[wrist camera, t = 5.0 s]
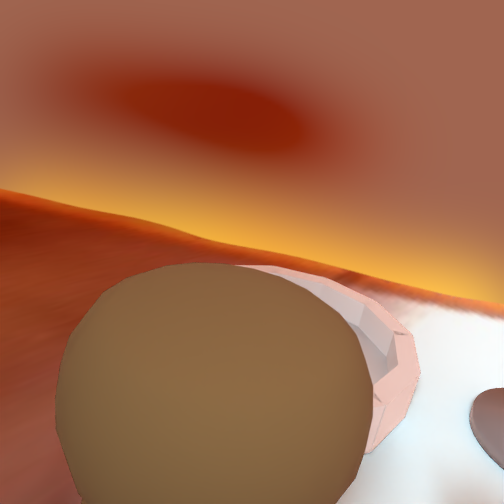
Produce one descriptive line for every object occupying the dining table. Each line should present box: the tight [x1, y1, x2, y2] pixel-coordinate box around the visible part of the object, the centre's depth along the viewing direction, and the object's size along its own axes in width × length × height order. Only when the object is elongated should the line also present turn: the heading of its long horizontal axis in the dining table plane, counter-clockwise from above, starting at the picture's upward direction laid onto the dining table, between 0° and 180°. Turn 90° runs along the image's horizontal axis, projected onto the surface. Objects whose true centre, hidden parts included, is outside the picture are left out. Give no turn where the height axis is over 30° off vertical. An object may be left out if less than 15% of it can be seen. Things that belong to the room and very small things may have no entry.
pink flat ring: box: [236, 265, 421, 454], centre depth 25 cm, size 13×13×2 cm
